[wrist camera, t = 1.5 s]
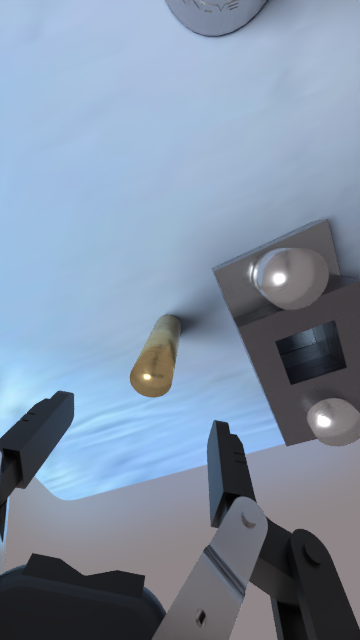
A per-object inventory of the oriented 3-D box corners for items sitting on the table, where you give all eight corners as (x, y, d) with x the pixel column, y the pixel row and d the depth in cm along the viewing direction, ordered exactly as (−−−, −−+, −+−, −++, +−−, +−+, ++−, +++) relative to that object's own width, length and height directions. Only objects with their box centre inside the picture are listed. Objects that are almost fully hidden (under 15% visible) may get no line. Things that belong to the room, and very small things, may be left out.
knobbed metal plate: (211, 268, 21) (218, 278, 15) (311, 222, 19) (365, 212, 13) (270, 411, 27) (292, 459, 21) (353, 387, 25) (404, 433, 19)
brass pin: (157, 312, 23) (131, 358, 14) (183, 317, 23) (175, 366, 14) (154, 336, 25) (128, 393, 15) (179, 341, 24) (168, 400, 15)
